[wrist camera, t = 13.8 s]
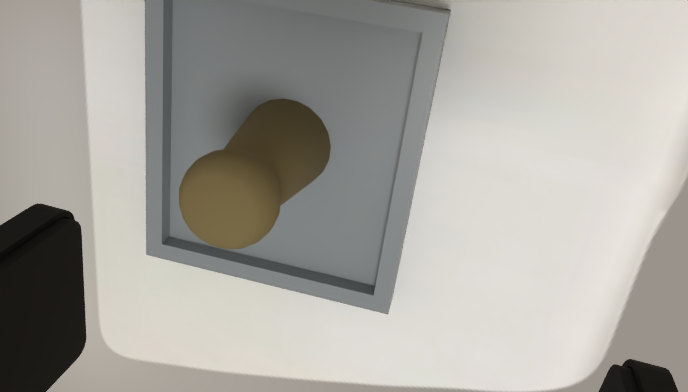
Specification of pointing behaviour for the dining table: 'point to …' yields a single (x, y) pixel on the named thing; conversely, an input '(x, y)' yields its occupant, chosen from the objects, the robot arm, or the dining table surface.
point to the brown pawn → (254, 174)
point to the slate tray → (325, 100)
